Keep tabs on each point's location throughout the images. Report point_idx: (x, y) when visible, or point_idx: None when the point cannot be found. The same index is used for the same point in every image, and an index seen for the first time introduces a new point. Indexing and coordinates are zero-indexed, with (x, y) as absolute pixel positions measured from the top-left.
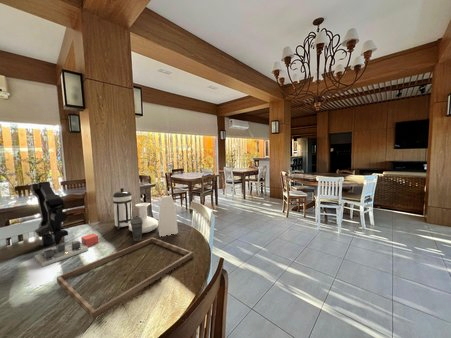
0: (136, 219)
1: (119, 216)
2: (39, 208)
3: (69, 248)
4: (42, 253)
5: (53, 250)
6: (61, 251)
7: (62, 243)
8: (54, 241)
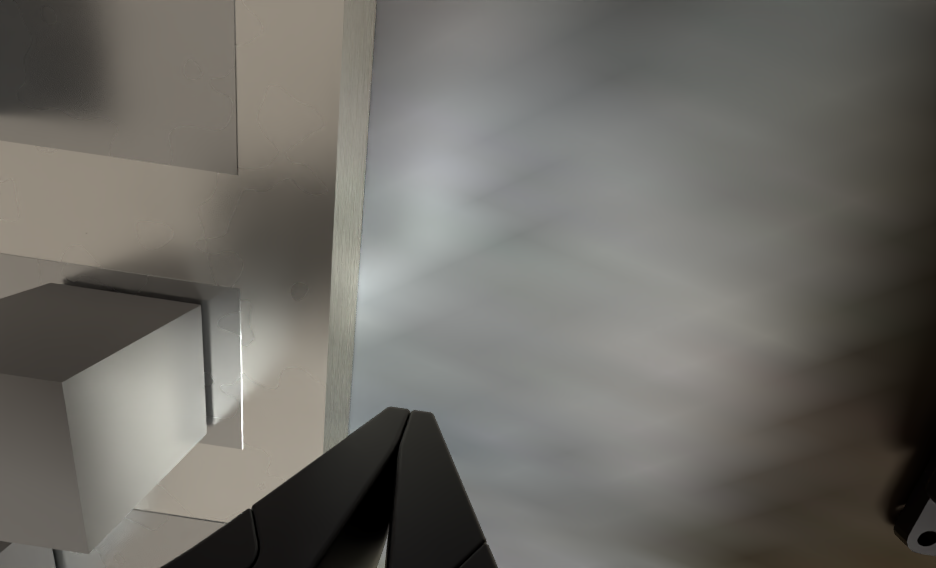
0: None
1: None
2: None
3: None
4: (302, 6)
5: (261, 262)
6: None
7: (23, 525)
8: (341, 497)
